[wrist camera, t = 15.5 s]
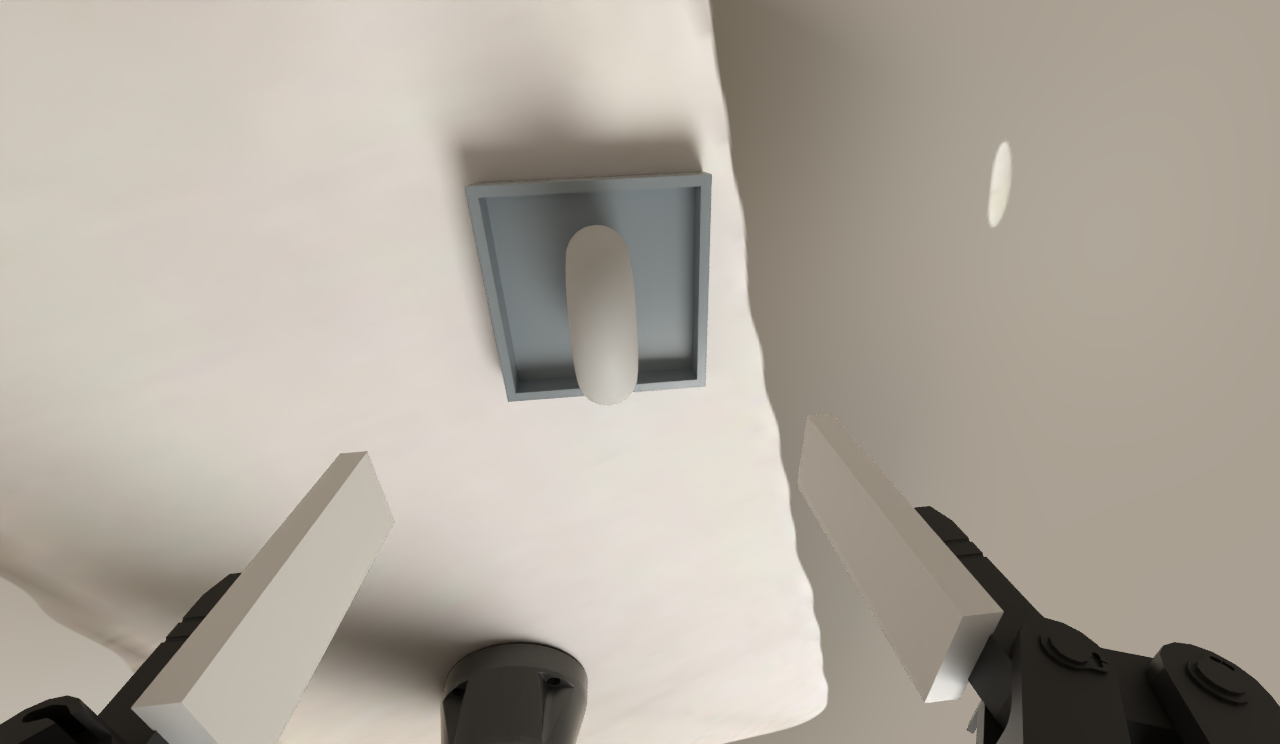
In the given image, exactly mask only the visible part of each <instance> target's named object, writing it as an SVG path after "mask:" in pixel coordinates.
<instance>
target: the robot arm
mask: <svg viewBox="0 0 1280 744" xmlns="http://www.w3.org/2000/svg"><path fill="white" fill-rule="evenodd" d="M797 486H798V488H799V490H800V491H801V493H802V494H803V496H804V498H805V500H806V501H807V503H808V505H809V507H810V508H811V510H812V512H813V513H814V515H815V517H816V519H817V520H818V522H819V524H820V525H821V527H822V529H823V530H824V532H825V534H826V535H827V537H828V539H829V541H830V542H831V544H832V546H833V548H834V549H835V551H836V553H837V554H838V556H839V558H840V560H841V561H842V563H843V565H844V566H845V568H846V570H847V571H848V573H849V575H850V577H851V578H852V580H853V582H854V583H855V585H856V587H857V589H858V590H859V592H860V594H861V595H862V597H863V599H864V600H865V602H866V604H867V606H868V607H869V609H870V611H871V612H872V614H873V616H874V617H875V619H876V621H877V623H878V624H879V626H880V628H881V630H882V631H883V633H884V635H885V636H886V638H887V640H888V641H889V643H890V645H891V646H892V648H893V650H894V652H895V653H896V655H897V657H898V659H899V660H900V662H901V664H902V665H903V667H904V669H905V670H906V672H907V674H908V676H909V677H910V679H911V681H912V682H913V684H914V686H915V687H916V689H917V691H918V692H919V694H920V696H921V698H922V700H923V701H924V703H929V702H936V701H945V700H954V699H960V698H961V696H962V694H963V692H964V690H965V688H966V686H967V684H968V682H970V683H971V685H972V686H973V688H974V689H975V691H976V692H977V694H978V695H979V697H980V698H981V699H982V700H981V702H980V704H979V705H978V708H977V709H976V711H975V713H974V715H973V716H972V718H971V720H970V722H969V725H968V728H967V731H969V732H971V733H974V731H975V730H976V728H977V738H976V744H1280V706H1279V705H1278V704H1277V703H1276V701H1275V700H1274V699H1273V697H1272V696H1271V695H1270V694H1269V693H1268V692H1267V691H1266V690H1265V689H1264V688H1263V687H1262V686H1261V685H1260V684H1259V682H1258V681H1257V680H1255V679H1254V678H1253V677H1252V676H1250V675H1249V674H1247V673H1246V672H1245V671H1243V670H1242V669H1241V668H1239V667H1238V666H1236V665H1235V664H1233V663H1232V662H1230V661H1228V660H1226V659H1224V658H1222V657H1221V656H1219V655H1217V654H1215V653H1213V652H1211V651H1208V650H1205V649H1202V648H1200V647H1197V646H1194V645H1191V644H1183V643H1176V642H1174V643H1171V644H1167V645H1164V646H1163V647H1162V648H1161V649H1160V650H1159V652H1158V653H1157V654H1156V655H1155V657H1154V658H1150V657H1145V656H1140V655H1134V654H1129V653H1124V652H1118V651H1114V650H1109V649H1103V648H1100V647H1099V646H1098V645H1097V644H1096V643H1094V642H1093V641H1092V640H1090V639H1089V638H1088V637H1086V636H1085V635H1084V634H1083V633H1081V632H1080V631H1077V630H1076V629H1073V628H1072V627H1070V626H1068V625H1066V624H1064V623H1061V622H1058V621H1054V620H1051V619H1047V618H1044V617H1043V616H1042V615H1041V614H1040V613H1039V612H1038V611H1037V610H1036V609H1035V608H1034V607H1033V606H1032V605H1031V604H1030V603H1029V602H1028V601H1027V600H1026V599H1025V598H1024V596H1022V595H1021V593H1020V592H1019V591H1018V590H1017V589H1016V588H1015V587H1014V586H1013V585H1012V584H1011V583H1010V582H1009V581H1008V579H1007V578H1006V577H1005V576H1004V575H1003V574H1002V573H1001V572H1000V571H999V570H998V569H997V568H996V567H995V566H994V565H993V564H992V562H991V561H990V560H989V559H988V558H987V557H983V553H982V552H981V551H980V550H979V549H978V548H977V546H976V545H975V544H974V543H973V542H970V541H969V538H968V537H967V536H966V535H965V534H964V533H963V532H962V531H961V530H960V528H959V527H958V526H957V525H956V524H955V523H954V522H953V521H952V520H950V519H949V518H947V517H946V516H944V515H943V514H941V513H940V512H938V511H937V510H935V509H934V508H932V507H930V506H927V507H917V508H913V507H912V505H911V504H910V503H909V502H908V501H907V500H906V498H905V497H904V496H903V495H902V494H901V493H900V492H899V490H898V489H897V488H896V487H895V486H894V485H893V484H892V482H891V481H890V480H889V479H888V478H887V477H886V476H885V474H884V473H883V472H882V471H881V470H880V469H879V467H878V466H877V465H876V464H875V463H874V462H873V460H872V459H871V458H870V457H869V456H868V455H867V454H866V452H865V451H864V450H863V449H862V448H861V447H860V446H859V444H858V443H857V442H856V441H855V440H854V439H853V437H852V436H851V435H850V434H849V433H848V432H847V431H846V429H845V428H844V427H843V426H842V425H841V424H840V423H839V421H838V420H837V419H836V418H835V417H834V416H833V414H821V415H809V416H808V417H807V423H806V430H805V436H804V443H803V449H802V456H801V462H800V469H799V475H798V482H797ZM394 522H395V521H394V519H393V516H392V514H391V511H390V508H389V506H388V503H387V501H386V498H385V495H384V493H383V490H382V488H381V485H380V482H379V480H378V477H377V475H376V472H375V469H374V467H373V464H372V462H371V459H370V456H369V454H368V451H366V452H354V453H342V454H340V455H339V456H338V457H337V458H336V459H335V461H334V462H333V463H332V464H331V465H330V467H329V468H328V469H327V470H326V472H325V473H324V474H323V475H322V476H321V478H320V479H319V480H318V481H317V482H316V484H315V485H314V486H313V487H312V489H311V490H310V491H309V492H308V493H307V495H306V496H305V497H304V498H303V499H302V501H301V502H300V503H299V504H298V506H297V507H296V508H295V509H294V510H293V512H292V513H291V514H290V515H289V516H288V518H287V519H286V520H285V521H284V523H283V524H282V525H281V526H280V527H279V529H278V530H277V531H276V532H275V533H274V535H273V536H272V537H271V538H270V540H269V541H268V542H267V543H266V544H265V546H264V547H263V548H262V549H261V550H260V552H259V553H258V554H257V555H256V556H255V558H254V559H253V560H252V561H251V563H250V564H249V565H248V566H247V567H246V569H245V570H244V571H243V572H242V573H235V574H229V575H228V576H227V577H225V578H224V579H223V580H222V581H220V582H219V583H218V584H216V585H215V586H214V587H213V588H211V589H210V590H209V591H207V592H206V593H205V594H204V595H203V596H202V597H201V598H200V599H199V600H198V601H197V602H196V604H195V605H194V606H193V607H192V608H191V609H190V610H189V612H188V613H187V614H186V615H185V616H184V617H183V621H182V622H181V623H178V624H177V625H176V627H175V628H174V629H173V630H172V631H171V632H170V633H169V635H168V636H167V637H166V641H165V642H164V643H161V644H160V645H159V646H158V647H157V648H156V650H155V651H154V652H153V653H152V654H151V655H150V656H149V658H148V659H147V660H146V661H145V662H144V663H143V664H142V666H141V667H140V668H139V669H138V670H137V671H136V673H135V674H134V675H133V676H132V677H131V678H130V679H129V681H128V682H127V683H126V684H125V686H123V687H122V689H121V690H120V691H119V692H118V693H117V694H116V696H115V697H114V698H113V699H112V700H111V701H110V702H109V704H108V705H107V706H106V707H105V708H104V709H103V710H102V712H101V713H100V714H99V715H98V716H97V715H96V714H95V713H94V712H93V711H92V710H91V709H90V708H89V707H88V706H86V704H84V703H83V702H82V701H81V700H80V699H79V698H75V697H71V696H63V697H58V698H53V699H48V700H46V701H44V702H41V703H39V704H37V705H34V706H32V707H30V708H27V709H25V710H23V711H22V712H20V713H18V714H17V715H15V716H14V717H12V718H10V719H9V720H7V721H5V722H4V723H2V724H0V744H276V743H277V742H278V740H279V738H280V736H281V734H282V732H283V730H284V728H285V727H286V725H287V723H288V721H289V719H290V717H291V715H292V713H293V711H294V710H295V708H296V706H297V704H298V702H299V700H300V698H301V696H302V695H303V693H304V691H305V689H306V687H307V685H308V683H309V681H310V680H311V678H312V676H313V674H314V672H315V670H316V668H317V666H318V665H319V663H320V661H321V659H322V657H323V655H324V653H325V651H326V650H327V648H328V646H329V644H330V642H331V640H332V638H333V636H334V634H335V633H336V631H337V629H338V627H339V625H340V623H341V621H342V619H343V618H344V616H345V614H346V612H347V610H348V608H349V606H350V604H351V603H352V601H353V599H354V597H355V595H356V593H357V591H358V589H359V588H360V586H361V584H362V582H363V580H364V578H365V576H366V574H367V573H368V571H369V569H370V567H371V565H372V563H373V561H374V559H375V557H376V556H377V554H378V552H379V550H380V548H381V546H382V544H383V542H384V541H385V539H386V537H387V535H388V533H389V531H390V529H391V527H392V526H393V524H394ZM586 706H587V676H586V673H585V671H584V669H583V668H582V666H581V665H580V664H579V663H578V662H577V661H576V660H575V659H573V658H572V657H570V656H569V655H567V654H565V653H563V652H561V651H559V650H556V649H553V648H550V647H546V646H541V645H535V644H504V645H497V646H492V647H488V648H485V649H482V650H479V651H477V652H474V653H472V654H470V655H468V656H466V657H465V658H463V659H462V660H461V661H459V662H458V663H457V664H456V665H455V666H454V667H453V668H452V670H451V671H450V673H449V675H448V677H447V681H446V684H445V688H444V691H443V695H442V699H441V708H440V710H441V744H576V740H577V737H578V734H579V731H580V727H581V724H582V721H583V717H584V714H585V711H586Z"/></svg>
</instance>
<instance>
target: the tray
mask: <svg viewBox="0 0 1280 744" xmlns="http://www.w3.org/2000/svg"><path fill="white" fill-rule="evenodd" d="M711 184H712V174H709V173H706V172H688V173H668V174H648V175H628V176H608V177H587V178H567V179H547V180H527V181H507V182H487V183H474V184H471V185H468V186H465V191H466V196H467V200H468V205H469V210H470V215H471V220H472V225H473V230H474V235H475V240H476V245H477V250H478V255H479V260H480V265H481V270H482V275H483V280H484V285H485V290H486V295H487V300H488V305H489V309H490V314H491V319H492V324H493V329H494V334H495V339H496V344H497V349H498V354H499V359H500V364H501V369H502V374H503V379H504V384H505V389H506V394H507V399H508V402H511V401H524V400H537V399H550V398H563V397H576V396H585V395H584V394H583V392H582V391H581V389H580V388H579V385H578V381H577V377H576V373H575V368H574V362H573V355H572V348H571V340H570V330H569V321H568V309H567V295H566V269H565V267H566V249H567V247H568V244H569V241H570V240H571V238H572V237H573V236H574V235H575V233H576V232H578V231H579V230H581V229H583V228H584V227H588V226H592V225H601V226H606V227H609V228H611V229H613V230H615V231H616V232H617V233H618V234H619V235H620V236H621V237H622V238H623V240H624V241H625V243H626V245H627V248H628V252H629V257H630V262H631V268H632V275H633V283H634V292H635V303H636V316H637V332H638V377H637V383H636V385H635V388H634V390H633V392H641V391H654V390H667V389H680V388H693V387H706V353H707V319H708V285H709V251H710V218H711Z"/></svg>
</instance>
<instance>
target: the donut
mask: <svg viewBox="0 0 1280 744" xmlns="http://www.w3.org/2000/svg"><path fill="white" fill-rule="evenodd" d="M565 269H566V295H567V309H568V321H569V330H570V340H571V348H572V355H573V362H574V368H575V373H576V377H577V381H578V385H579V388H580V389H581V391H582V392H583V394H584V395H585V396H586V397H587V398H588V399H589V400H591V401H592V402H595V403H597V404H600V405H614V404H618V403H620V402H622V401H623V400H625V399H627V398H628V397H629V395H630V394H631V393H632V392H633V390H634V388H635V385H636V383H637V377H638V332H637V316H636V303H635V292H634V283H633V275H632V268H631V262H630V257H629V252H628V248H627V245H626V243H625V241H624V240H623V238H622V237H621V236H620V235H619V234H618V233H617V232H616V231H615V230H613V229H611V228H609V227H606V226H601V225H592V226H588V227H584V228H583V229H581V230H579V231H578V232H576V233H575V235H574V236H573V237H572V238H571V240H570V241H569V244H568V247H567V249H566V267H565Z"/></svg>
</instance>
